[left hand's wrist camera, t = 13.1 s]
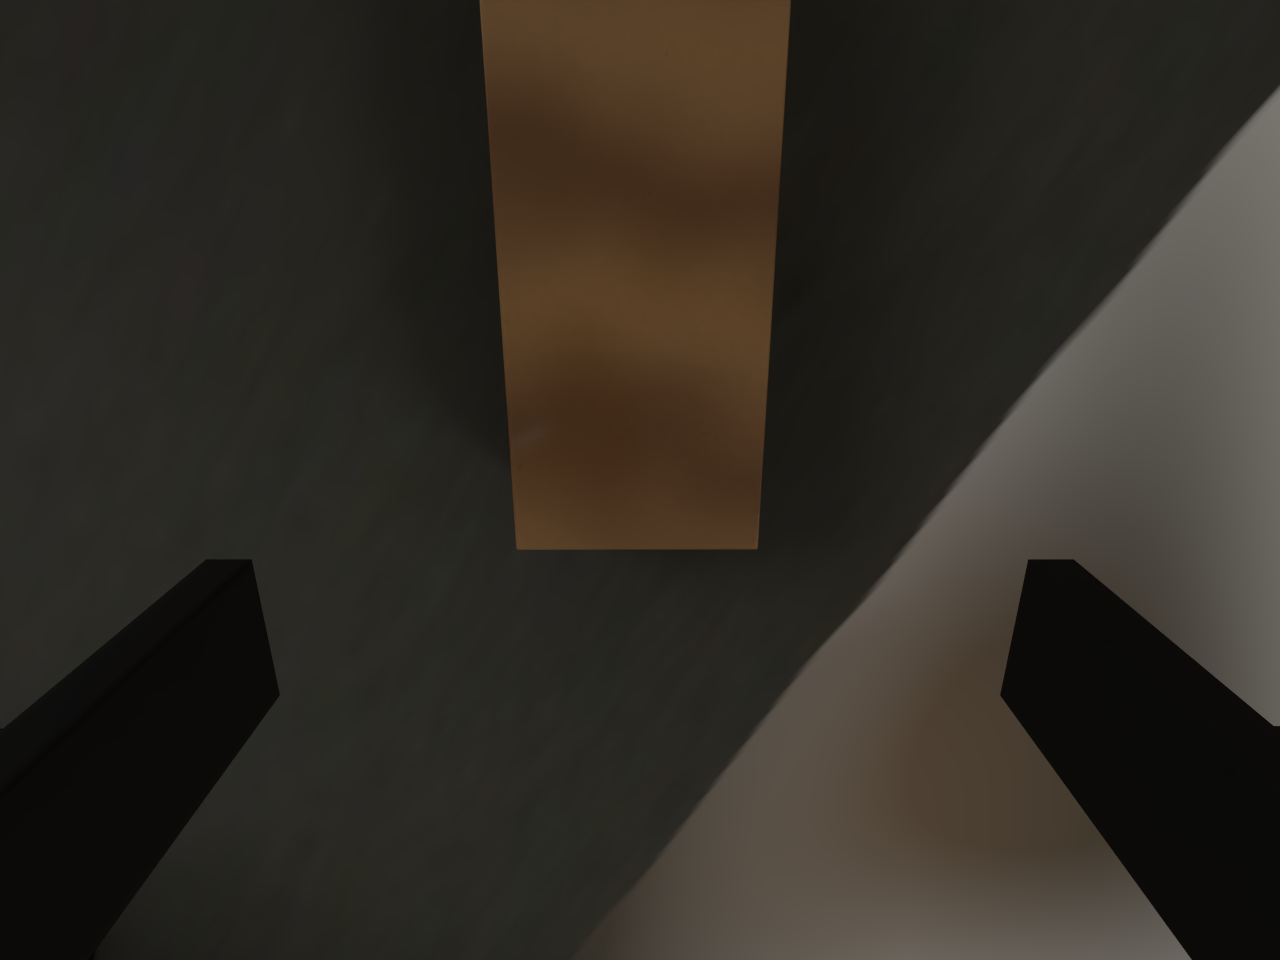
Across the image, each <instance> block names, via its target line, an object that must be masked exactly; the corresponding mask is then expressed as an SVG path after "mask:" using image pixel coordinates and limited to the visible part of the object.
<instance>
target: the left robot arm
mask: <svg viewBox="0 0 1280 960" xmlns="http://www.w3.org/2000/svg"><path fill="white" fill-rule="evenodd" d="M1000 695H1001V697H1002V698H1003V700H1004V701H1005V702H1006V704H1007V705H1008V707H1009V708H1010V709H1011V711H1012V712H1013V714H1014V715H1015V716H1016V718H1017V719H1018V720H1019V722H1020V723H1021V725H1022V726H1023V727H1024V729H1025V730H1026V731H1027V733H1028V734H1029V736H1030V737H1031V738H1032V740H1033V741H1034V742H1035V744H1036V745H1037V747H1038V748H1039V749H1040V751H1041V752H1042V754H1043V755H1044V756H1045V758H1046V759H1047V760H1048V762H1049V763H1050V765H1051V766H1052V767H1053V769H1054V770H1055V772H1056V773H1057V774H1058V776H1059V777H1060V778H1061V780H1062V781H1063V783H1064V784H1065V785H1066V787H1067V788H1068V789H1069V791H1070V792H1071V794H1072V795H1073V796H1074V798H1075V799H1076V800H1077V802H1078V803H1079V805H1080V806H1081V807H1082V809H1083V810H1084V811H1085V813H1086V814H1087V816H1088V817H1089V818H1090V820H1091V821H1092V823H1093V824H1094V825H1095V827H1096V828H1097V829H1098V831H1099V832H1100V834H1101V835H1102V836H1103V838H1104V839H1105V840H1106V842H1107V843H1108V845H1109V846H1110V847H1111V849H1112V850H1113V851H1114V853H1115V854H1116V856H1117V857H1118V858H1119V860H1120V861H1121V862H1122V864H1123V865H1124V867H1125V868H1126V869H1127V871H1128V872H1129V874H1130V875H1131V876H1132V878H1133V879H1134V880H1135V882H1136V883H1137V885H1138V886H1139V887H1140V889H1141V890H1142V892H1143V893H1144V894H1145V896H1146V897H1147V898H1148V900H1149V901H1150V902H1151V904H1152V905H1153V907H1154V908H1155V909H1156V911H1157V912H1158V914H1159V915H1160V916H1161V918H1162V919H1163V921H1164V922H1165V923H1166V925H1167V926H1168V927H1169V929H1170V930H1171V932H1172V933H1173V934H1174V936H1175V937H1176V938H1177V940H1178V941H1179V943H1180V944H1181V945H1182V947H1183V948H1184V949H1185V951H1186V952H1187V954H1188V955H1189V956H1190V958H1191V959H1192V960H1280V726H1273V725H1272V724H1270V723H1269V722H1268V721H1267V720H1266V719H1264V718H1263V717H1262V716H1261V715H1260V714H1258V713H1257V712H1256V711H1255V710H1254V709H1252V708H1251V707H1250V706H1249V705H1248V704H1246V703H1245V702H1244V701H1243V700H1242V699H1240V698H1239V697H1238V696H1237V695H1236V694H1234V693H1233V692H1232V691H1231V690H1230V689H1228V688H1227V687H1226V686H1225V685H1224V684H1222V683H1221V682H1220V681H1219V680H1218V679H1216V678H1215V677H1214V676H1213V675H1212V674H1210V673H1209V672H1208V671H1207V670H1206V669H1204V668H1203V667H1202V666H1201V665H1200V664H1198V663H1197V662H1196V661H1195V660H1194V659H1192V658H1191V657H1190V656H1189V655H1188V654H1186V653H1185V652H1184V651H1183V650H1181V649H1180V648H1179V647H1178V646H1177V645H1176V644H1174V643H1173V642H1172V641H1171V640H1170V639H1168V638H1167V637H1166V636H1165V635H1164V634H1162V633H1161V632H1160V631H1159V630H1158V629H1156V628H1155V627H1154V626H1153V625H1152V624H1150V623H1149V622H1148V621H1147V620H1146V619H1144V618H1143V617H1142V616H1141V615H1140V614H1138V613H1137V612H1136V611H1135V610H1134V609H1132V608H1131V607H1130V606H1129V605H1128V604H1126V603H1125V602H1124V601H1123V600H1122V599H1120V598H1119V597H1118V596H1117V595H1116V594H1114V593H1113V592H1112V591H1111V590H1110V589H1108V588H1107V587H1106V586H1105V585H1104V584H1102V583H1101V582H1100V581H1099V580H1098V579H1096V578H1095V577H1094V576H1093V575H1092V574H1090V573H1089V572H1088V571H1087V570H1086V569H1084V568H1083V567H1082V566H1081V565H1080V564H1078V563H1077V562H1076V561H1075V560H1028V564H1027V568H1026V574H1025V578H1024V583H1023V588H1022V593H1021V598H1020V602H1019V607H1018V612H1017V617H1016V622H1015V626H1014V631H1013V636H1012V641H1011V646H1010V651H1009V655H1008V660H1007V665H1006V670H1005V675H1004V680H1003V684H1002V689H1001V694H1000ZM279 696H280V694H279V689H278V684H277V680H276V675H275V670H274V665H273V660H272V655H271V651H270V646H269V641H268V636H267V631H266V626H265V622H264V617H263V612H262V607H261V602H260V597H259V593H258V588H257V583H256V578H255V573H254V568H253V564H252V560H205V561H204V562H203V563H202V564H200V565H199V566H198V567H197V568H196V569H194V570H193V571H192V572H191V573H190V574H188V575H187V576H186V577H185V578H184V579H182V580H181V581H180V582H179V583H178V584H176V585H175V586H174V587H173V588H172V589H170V590H169V591H168V592H167V593H166V594H164V595H163V596H162V597H161V598H160V599H158V600H157V601H156V602H155V603H154V604H152V605H151V606H150V607H149V608H148V609H146V610H145V611H144V612H143V613H142V614H140V615H139V616H138V617H137V618H136V619H134V620H133V621H132V622H131V623H130V624H128V625H127V626H126V627H125V628H124V629H122V630H121V631H120V632H119V633H118V634H116V635H115V636H114V637H113V638H112V639H110V640H109V641H108V642H107V643H106V644H104V645H103V646H102V647H101V648H100V649H98V650H97V651H96V652H95V653H94V654H92V655H91V656H90V657H89V658H88V659H86V660H85V661H84V662H83V663H82V664H80V665H79V666H78V667H77V668H76V669H74V670H73V671H72V672H71V673H70V674H68V675H67V676H66V677H65V678H64V679H62V680H61V681H60V682H59V683H58V684H56V685H55V686H54V687H53V688H52V689H50V690H49V691H48V692H47V693H46V694H44V695H43V696H42V697H41V698H40V699H38V700H37V701H36V702H35V703H34V704H32V705H31V706H30V707H29V708H28V709H26V710H25V711H24V712H23V713H22V714H20V715H19V716H18V717H17V718H16V719H14V720H13V721H12V722H11V723H10V724H8V725H7V726H6V727H5V728H4V729H0V960H93V952H94V951H95V949H96V948H97V947H98V945H99V944H100V943H101V941H102V940H103V938H104V937H105V936H106V934H107V933H108V932H109V930H110V929H111V927H112V926H113V925H114V923H115V922H116V921H117V919H118V918H119V916H120V915H121V914H122V912H123V911H124V909H125V908H126V907H127V905H128V904H129V903H130V901H131V900H132V898H133V897H134V896H135V894H136V893H137V892H138V890H139V889H140V887H141V886H142V885H143V883H144V882H145V881H146V879H147V878H148V876H149V875H150V874H151V872H152V871H153V869H154V868H155V867H156V865H157V864H158V863H159V861H160V860H161V858H162V857H163V856H164V854H165V853H166V852H167V850H168V849H169V847H170V846H171V845H172V843H173V842H174V840H175V839H176V838H177V836H178V835H179V834H180V832H181V831H182V829H183V828H184V827H185V825H186V824H187V823H188V821H189V820H190V818H191V817H192V816H193V814H194V813H195V812H196V810H197V809H198V807H199V806H200V805H201V803H202V802H203V800H204V799H205V798H206V796H207V795H208V794H209V792H210V791H211V789H212V788H213V787H214V785H215V784H216V783H217V781H218V780H219V778H220V777H221V776H222V774H223V773H224V772H225V770H226V769H227V767H228V766H229V765H230V763H231V762H232V760H233V759H234V758H235V756H236V755H237V754H238V752H239V751H240V749H241V748H242V747H243V745H244V744H245V743H246V741H247V740H248V738H249V737H250V736H251V734H252V733H253V731H254V730H255V729H256V727H257V726H258V725H259V723H260V722H261V720H262V719H263V718H264V716H265V715H266V714H267V712H268V711H269V709H270V708H271V707H272V705H273V704H274V703H275V701H276V700H277V698H278V697H279Z"/></svg>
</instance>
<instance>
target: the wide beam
mask: <svg viewBox="0 0 1280 960" xmlns="http://www.w3.org/2000/svg"><path fill="white" fill-rule="evenodd" d="M479 3H480V18H481V33H482V48H483V62H484V77H485V92H486V107H487V122H488V136H489V151H490V166H491V181H492V196H493V210H494V225H495V240H496V255H497V270H498V284H499V299H500V314H501V329H502V344H503V358H504V373H505V388H506V403H507V418H508V432H509V447H510V462H511V477H512V492H513V507H514V521H515V536H516V548H517V550H623V549H757V548H758V537H759V521H760V504H761V488H762V471H763V455H764V438H765V422H766V405H767V389H768V372H769V356H770V340H771V323H772V307H773V290H774V274H775V257H776V241H777V224H778V208H779V191H780V175H781V158H782V142H783V125H784V109H785V93H786V76H787V60H788V43H789V27H790V10H791V0H479Z"/></svg>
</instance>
